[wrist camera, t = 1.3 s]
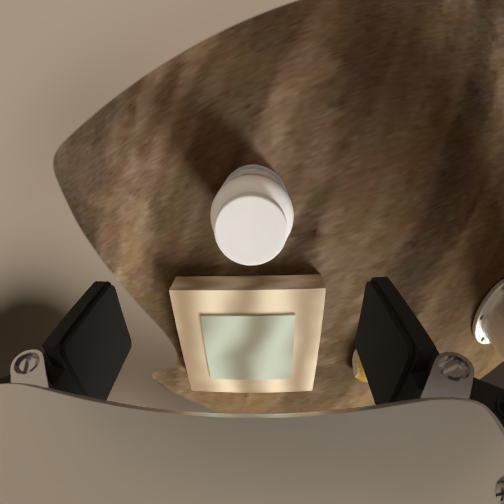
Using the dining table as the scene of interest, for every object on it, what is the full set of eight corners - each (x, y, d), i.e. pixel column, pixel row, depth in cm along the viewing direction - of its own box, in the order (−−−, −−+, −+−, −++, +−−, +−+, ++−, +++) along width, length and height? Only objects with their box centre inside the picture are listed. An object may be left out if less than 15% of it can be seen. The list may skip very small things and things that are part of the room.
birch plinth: (320, 274, 32) (326, 289, 29) (309, 374, 38) (312, 392, 35) (176, 276, 33) (168, 291, 30) (195, 374, 39) (191, 392, 36)
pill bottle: (267, 232, 30) (270, 290, 20) (213, 206, 29) (187, 252, 19) (296, 181, 28) (317, 213, 18) (240, 152, 27) (227, 167, 17)
